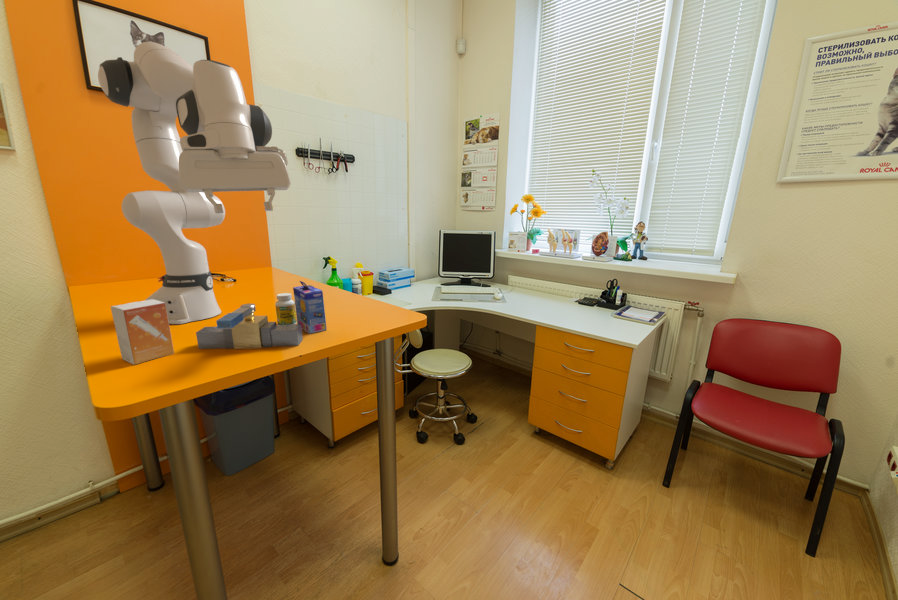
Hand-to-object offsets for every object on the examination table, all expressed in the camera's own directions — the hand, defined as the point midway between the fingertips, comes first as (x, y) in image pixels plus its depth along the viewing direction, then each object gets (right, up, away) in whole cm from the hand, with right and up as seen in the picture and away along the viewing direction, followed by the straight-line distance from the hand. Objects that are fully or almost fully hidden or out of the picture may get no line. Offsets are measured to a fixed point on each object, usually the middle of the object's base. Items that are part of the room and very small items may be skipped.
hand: (245, 211), depth 76 cm
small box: (-28, -33, +8) cm, 44 cm away
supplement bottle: (-6, -27, +32) cm, 43 cm away
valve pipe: (-8, -31, +17) cm, 36 cm away
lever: (-7, -24, +9) cm, 26 cm away
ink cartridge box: (+3, -28, +30) cm, 41 cm away
